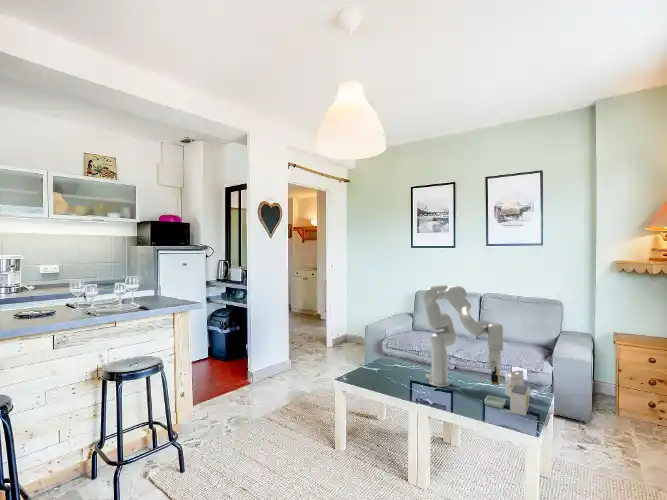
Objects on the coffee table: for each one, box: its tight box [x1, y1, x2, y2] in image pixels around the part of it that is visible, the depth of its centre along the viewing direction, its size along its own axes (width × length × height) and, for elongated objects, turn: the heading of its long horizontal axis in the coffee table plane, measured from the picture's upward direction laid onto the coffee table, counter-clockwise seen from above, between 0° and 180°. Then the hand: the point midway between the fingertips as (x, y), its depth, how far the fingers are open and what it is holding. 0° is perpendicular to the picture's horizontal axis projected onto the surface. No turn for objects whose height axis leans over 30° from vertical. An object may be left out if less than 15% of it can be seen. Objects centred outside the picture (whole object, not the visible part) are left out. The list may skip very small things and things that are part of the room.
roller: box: [490, 367, 501, 386], centre depth 196 cm, size 4×4×8 cm
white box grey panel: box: [509, 384, 530, 417], centre depth 190 cm, size 7×14×11 cm, turn 146°
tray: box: [483, 394, 507, 410], centre depth 197 cm, size 9×9×2 cm
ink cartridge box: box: [504, 369, 524, 397], centre depth 208 cm, size 9×5×15 cm, turn 105°
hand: (495, 380), depth 196 cm, fingers closed on roller, 4 cm apart
